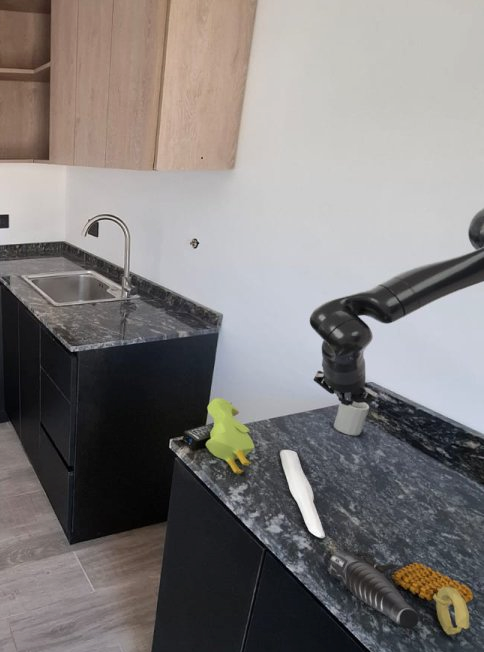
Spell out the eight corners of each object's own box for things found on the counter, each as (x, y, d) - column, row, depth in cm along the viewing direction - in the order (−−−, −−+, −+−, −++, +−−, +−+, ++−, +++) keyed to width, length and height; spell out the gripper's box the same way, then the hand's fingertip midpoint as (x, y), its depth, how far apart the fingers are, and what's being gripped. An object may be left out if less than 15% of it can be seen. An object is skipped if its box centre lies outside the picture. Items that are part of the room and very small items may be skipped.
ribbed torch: (409, 638, 70) (413, 628, 68) (319, 576, 79) (320, 566, 78) (435, 594, 73) (440, 584, 71) (345, 539, 83) (347, 529, 81)
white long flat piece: (329, 540, 86) (331, 529, 85) (303, 537, 87) (304, 526, 86) (296, 455, 111) (297, 446, 110) (276, 453, 112) (277, 444, 112)
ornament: (451, 591, 79) (507, 661, 65) (377, 576, 82) (415, 640, 68) (457, 553, 78) (515, 617, 64) (383, 540, 81) (422, 597, 67)
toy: (286, 463, 104) (240, 396, 119) (229, 457, 98) (188, 386, 113) (267, 480, 107) (225, 412, 122) (212, 474, 101) (174, 404, 116)
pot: (352, 423, 125) (360, 398, 122) (365, 436, 119) (374, 410, 117) (328, 421, 125) (336, 396, 123) (341, 434, 120) (349, 408, 117)
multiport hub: (228, 438, 116) (230, 430, 115) (195, 449, 111) (196, 441, 110) (214, 429, 119) (216, 421, 118) (181, 439, 115) (183, 431, 114)
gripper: (387, 364, 96) (386, 399, 108) (317, 343, 105) (323, 378, 117) (372, 395, 95) (372, 427, 107) (302, 371, 104) (309, 403, 116)
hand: (346, 401), depth 112 cm, fingers closed
